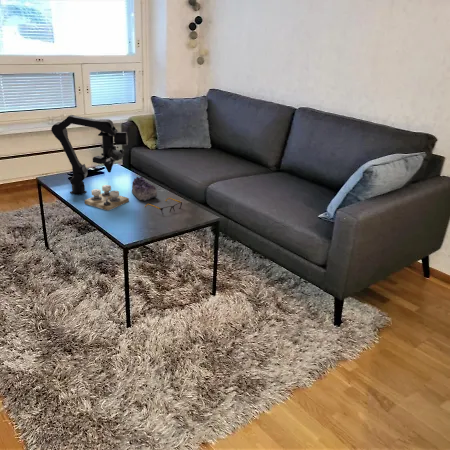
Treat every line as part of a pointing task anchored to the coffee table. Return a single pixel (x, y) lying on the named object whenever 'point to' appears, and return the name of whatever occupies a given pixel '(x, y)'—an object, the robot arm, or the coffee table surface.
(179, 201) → the eyeglasses
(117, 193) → the knob
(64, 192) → the coffee table surface
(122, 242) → the coffee table surface
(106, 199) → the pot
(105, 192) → the knob
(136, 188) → the geode
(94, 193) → the knob
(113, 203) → the panel
